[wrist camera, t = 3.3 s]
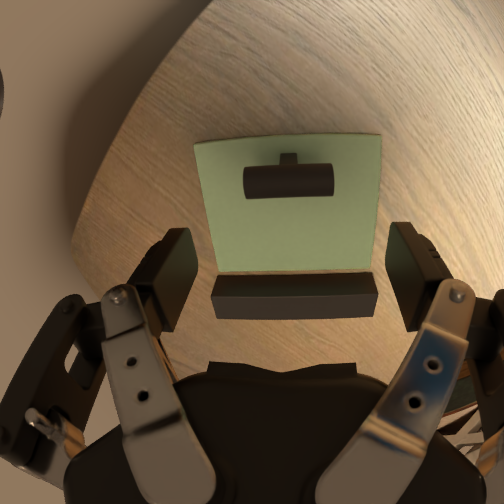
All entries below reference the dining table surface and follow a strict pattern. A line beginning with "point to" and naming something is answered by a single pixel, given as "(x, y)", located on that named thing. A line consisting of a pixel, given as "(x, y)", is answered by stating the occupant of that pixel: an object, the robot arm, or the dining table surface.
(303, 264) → the sign
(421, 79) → the dining table surface
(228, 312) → the stand
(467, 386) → the book
